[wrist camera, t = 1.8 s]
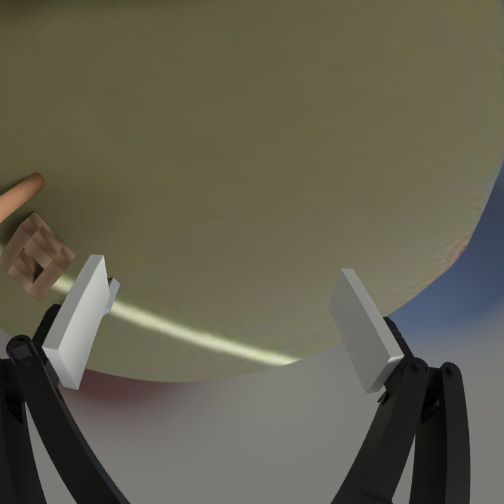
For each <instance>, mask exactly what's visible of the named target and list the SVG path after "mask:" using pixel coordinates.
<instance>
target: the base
mask: <svg viewBox="0 0 504 504" xmlns="http://www.w3.org/2000/svg"><path fill="white" fill-rule="evenodd" d="M108 286H109V291H110V298H109V300H108V303H107V305H106V308H105V310H104V313H103V316H104V315H105V314H106V313H108V312H109V311H110V310H111V307H112V304H113V302H114V299H115V296H116V294H117V291H118V289H119V286H120V283H119V282H118V281H116V280H115V279H114V278H112V279H111V280H110V281H109V282H108Z"/></svg>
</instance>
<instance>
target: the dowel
mask: <svg viewBox="0 0 504 504" xmlns="http://www.w3.org/2000/svg"><path fill="white" fill-rule="evenodd" d="M43 187H44V179H43V177H42V175H41V174H39V173H34V174H33V175H31V176H29V177H28V178H26V179H25V180H23V181H22V182H20V183H19V184H17V185H16V186H14V187H13V188H11V189H10V190H9V191H7V192H6V193H4V194H3V195H1V196H0V223H1V222H2V221H3V220H4V219H6V218H7V217H8V216H9V215H10V214H11V213H13V212H14V211H15V210H16V209H17V208H19V207H20V206H21V205H22V204H24V203H25V202H26V201H27V200H29V199H30V198H31V197H32V196H34V195H35V194H36V193H38V192H39V191H40V190H41V189H42V188H43Z"/></svg>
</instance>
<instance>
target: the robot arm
mask: <svg viewBox="0 0 504 504" xmlns="http://www.w3.org/2000/svg"><path fill="white" fill-rule="evenodd" d="M109 298H110V291H109V286H108V280H107V274H106V268H105V262H104V255H92V254H91V255H90V257H89V259H88V260H87V262H86V263H85V265H84V267H83V269H82V270H81V272H80V274H79V275H78V277H77V279H76V281H75V282H74V284H73V286H72V288H71V290H70V292H69V293H68V295H67V297H66V299H65V301H64V303H63V305H58V304H54V305H53V306H51V307H50V308H49V309H48V310H47V312H46V313H45V315H44V317H43V320H42V321H41V323H40V326H39V327H38V329H37V331H36V333H35V335H34V337H33V339H32V341H31V339H30V337H28V336H26V335H18V336H15V337H14V338H12V339H11V340H10V341H9V342H8V344H7V347H6V353H7V354H8V356H9V358H10V359H1V358H0V504H47V502H46V500H45V496H44V493H43V490H42V487H41V483H40V480H39V477H38V472H37V468H36V464H35V460H34V455H33V451H32V446H31V441H30V435H29V430H28V423H27V416H26V409H25V402H26V403H27V406H28V408H29V411H30V413H31V416H32V418H33V421H34V423H35V426H36V428H37V430H38V433H39V435H40V437H41V439H42V442H43V444H44V446H45V448H46V450H47V452H48V454H49V456H50V458H51V460H52V462H53V464H54V465H55V467H56V469H57V471H58V473H59V475H60V476H61V478H62V480H63V482H64V483H65V485H66V487H67V488H68V490H69V491H70V493H71V495H72V496H73V498H74V499H75V501H76V503H77V504H130V502H129V501H128V500H127V499H126V498H125V496H124V495H123V494H122V492H121V491H120V490H119V489H118V487H117V486H116V485H115V483H114V482H113V480H112V479H111V478H110V476H109V475H108V474H107V472H106V471H105V469H104V468H103V466H102V465H101V463H100V462H99V460H98V459H97V458H96V456H95V454H94V453H93V451H92V449H91V448H90V446H89V445H88V443H87V441H86V440H85V438H84V436H83V435H82V433H81V431H80V429H79V428H78V426H77V424H76V422H75V420H74V418H73V417H72V415H71V413H70V411H69V409H68V407H67V405H66V403H65V401H64V399H63V397H62V395H61V393H60V391H59V389H58V388H57V385H58V382H59V380H60V381H61V383H62V385H63V386H64V387H67V388H72V389H77V390H78V389H79V385H80V381H81V378H82V375H83V372H84V368H85V365H86V362H87V359H88V356H89V353H90V350H91V347H92V344H93V341H94V338H95V335H96V332H97V329H98V327H99V324H100V321H101V318H102V316H103V313H104V310H105V308H106V305H107V303H108V300H109ZM328 306H329V308H330V310H331V313H332V315H333V317H334V319H335V322H336V324H337V326H338V329H339V331H340V333H341V336H342V338H343V340H344V342H345V345H346V347H347V350H348V352H349V354H350V356H351V359H352V362H353V364H354V366H355V369H356V371H357V374H358V376H359V379H360V381H361V383H362V386H363V388H364V391H365V393H371V392H377V391H379V390H380V388H381V387H382V386H383V385H385V388H386V391H385V392H384V393H383V395H382V396H381V397H380V398H379V400H378V401H377V402H378V403H379V402H380V401H381V402H380V404H379V407H378V409H377V412H376V414H375V417H374V419H373V422H372V424H371V426H370V429H369V431H368V433H367V435H366V438H365V440H364V442H363V444H362V446H361V448H360V450H359V453H358V455H357V457H356V459H355V461H354V463H353V465H352V467H351V469H350V471H349V472H348V474H347V476H346V478H345V480H344V482H343V483H342V485H341V487H340V489H339V491H338V493H337V494H336V496H335V497H334V499H333V501H332V502H331V504H393V503H392V497H393V495H394V493H395V490H396V487H397V485H398V483H399V480H400V478H401V475H402V472H403V470H404V467H405V464H406V461H407V458H408V455H409V452H410V449H411V446H412V443H413V439H414V436H415V453H414V466H413V476H412V485H411V494H410V500H409V504H469V502H470V443H469V428H468V418H467V409H466V401H465V393H464V387H463V381H462V375H461V371H460V369H459V368H458V367H457V366H456V365H455V364H453V363H451V362H445V363H444V364H443V365H442V366H441V367H440V368H433V367H428V365H427V363H426V362H425V361H423V360H422V359H420V358H417V357H414V356H413V354H412V352H411V351H410V349H409V347H408V345H407V344H406V342H405V340H404V338H402V335H401V333H400V332H399V331H398V329H397V327H396V325H395V323H394V322H393V321H391V320H390V319H389V318H388V317H382V316H381V314H380V312H379V311H378V309H377V307H376V306H375V304H374V302H373V301H372V299H371V297H370V296H369V294H368V292H367V291H366V289H365V288H364V286H363V284H362V283H361V281H360V280H359V278H358V277H357V275H356V273H355V272H354V270H353V269H342V268H341V270H340V273H339V276H338V279H337V282H336V285H335V288H334V291H333V293H332V296H331V299H330V302H329V304H328ZM415 433H416V435H415Z"/></svg>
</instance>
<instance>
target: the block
mask: <svg viewBox="0 0 504 504" xmlns="http://www.w3.org/2000/svg"><path fill="white" fill-rule="evenodd" d="M75 256H76V254H75V253H74V252H73V251H72V250H71V249H70V248H69V247H68V246H67V245H66V244H65V243H64V242H63V241H62V240H61V239H60V238H59V237H58V236H57V235H56V234H55V233H54V231H53V230H52V229H51V228H50V227H49V226H48V225H47V224H46V223H45V222H44V220H43V219H42V218H41V217H40V216H39V215H38V214H37V213H36V211H34V212H33V213H32V214H31V215H30V216H29V217H28V218H27V219H26V220H25V221H23V222H22V223H21V224H20V225H19V227H18V228H17V230H16V231H15V233H14V234H13V236H12V238H11V239H10V241H9V242H8V244H7V246H6V247H5V249H4V251H3V252H2V254H1V256H0V265H1V266H2V267H3V268H4V269H5V270H6V271H7V272H8V273H9V274H10V275H11V276H12V277H13V278H14V279H15V280H16V281H17V282H18V283H19V284H20V285H21V286H22V287H23V288H24V289H25V290H26V291H27V292H28V293H29V294H30V295H31V296H32V297H33V298H34V299H35V300H36V301H37V302H38V301H39V300H40V299H41V297H42V296H43V295H44V294H45V293H46V292H47V291H48V290H49V289H50V287H51V286H52V285H53V284H54V283H55V282H56V281H57V280H58V279H59V278H60V277H61V276H62V275H63V274H64V272H65V271H66V269H67V268H68V266H69V265H70V263H71V262H72V260H73V259H74V257H75Z"/></svg>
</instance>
